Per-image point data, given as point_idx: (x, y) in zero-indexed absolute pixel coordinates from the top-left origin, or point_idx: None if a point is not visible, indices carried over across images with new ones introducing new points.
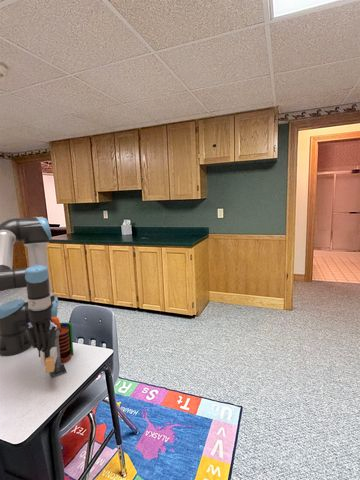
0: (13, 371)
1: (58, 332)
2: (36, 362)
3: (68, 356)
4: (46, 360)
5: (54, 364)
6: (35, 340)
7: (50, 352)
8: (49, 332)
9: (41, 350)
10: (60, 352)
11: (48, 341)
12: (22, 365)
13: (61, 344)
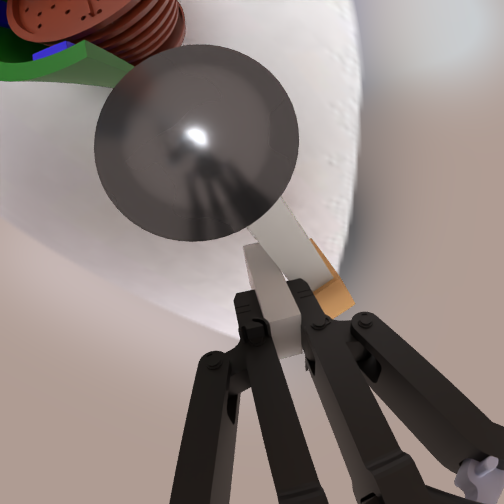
0: (26, 205)
1: (285, 121)
2: (45, 118)
3: (184, 23)
4: None
5: (319, 249)
6: (232, 429)
7: (272, 246)
8: (116, 186)
9: (281, 353)
10: (155, 48)
11: (388, 403)
12: (18, 164)
13: (153, 26)
